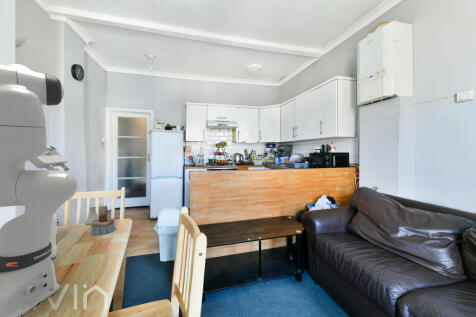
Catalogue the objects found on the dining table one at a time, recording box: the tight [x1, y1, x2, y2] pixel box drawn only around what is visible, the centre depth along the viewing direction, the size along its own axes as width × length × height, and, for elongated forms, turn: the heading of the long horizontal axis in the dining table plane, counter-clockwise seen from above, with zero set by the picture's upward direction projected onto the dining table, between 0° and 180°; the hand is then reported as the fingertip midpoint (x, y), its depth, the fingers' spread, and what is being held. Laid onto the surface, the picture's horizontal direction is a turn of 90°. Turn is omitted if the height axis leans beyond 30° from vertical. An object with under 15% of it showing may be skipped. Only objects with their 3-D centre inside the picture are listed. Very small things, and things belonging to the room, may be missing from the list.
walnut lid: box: [90, 205, 116, 227], centre depth 112 cm, size 11×11×9 cm
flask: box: [85, 206, 99, 226], centre depth 124 cm, size 7×7×10 cm
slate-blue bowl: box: [90, 221, 116, 236], centre depth 112 cm, size 11×11×4 cm
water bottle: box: [50, 212, 58, 259], centre depth 82 cm, size 7×7×25 cm
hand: (63, 171), depth 101 cm, fingers open, 8 cm apart
